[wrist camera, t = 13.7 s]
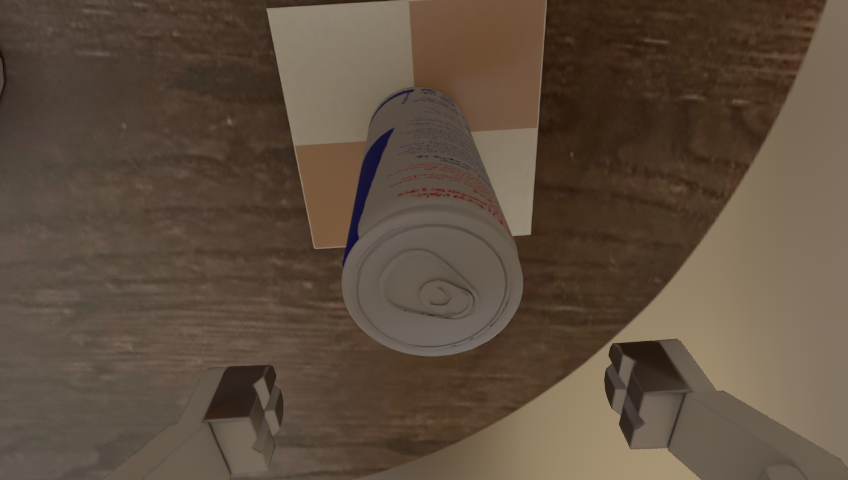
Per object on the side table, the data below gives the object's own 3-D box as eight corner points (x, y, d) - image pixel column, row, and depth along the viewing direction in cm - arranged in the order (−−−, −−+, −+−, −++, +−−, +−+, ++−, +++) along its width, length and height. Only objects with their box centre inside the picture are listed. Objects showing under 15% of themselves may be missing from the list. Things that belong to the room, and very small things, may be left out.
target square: (546, -10, 24) (547, -9, 24) (530, 233, 31) (530, 234, 31) (267, 8, 24) (266, 8, 24) (314, 247, 31) (314, 249, 31)
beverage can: (361, 90, 26) (320, 221, 13) (464, 79, 26) (528, 199, 13) (376, 185, 29) (355, 370, 16) (469, 175, 29) (525, 353, 16)
